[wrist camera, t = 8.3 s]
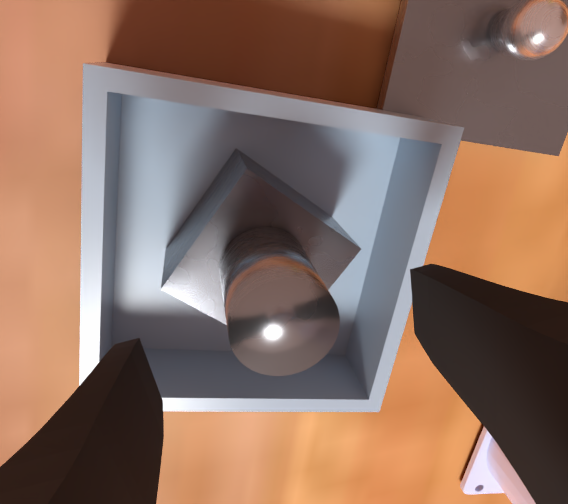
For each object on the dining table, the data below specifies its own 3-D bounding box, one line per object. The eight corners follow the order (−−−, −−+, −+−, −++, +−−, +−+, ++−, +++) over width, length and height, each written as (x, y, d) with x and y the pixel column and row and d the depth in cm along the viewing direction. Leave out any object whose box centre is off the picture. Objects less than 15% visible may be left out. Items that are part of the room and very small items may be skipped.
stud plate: (629, -69, 17) (716, -94, 14) (548, 153, 19) (606, 168, 17) (431, -131, 15) (486, -174, 12) (372, 125, 17) (406, 137, 15)
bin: (414, 115, 18) (464, 127, 14) (351, 360, 22) (379, 411, 18) (105, 62, 15) (83, 63, 12) (97, 352, 19) (79, 411, 16)
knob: (331, 216, 18) (409, 302, 12) (263, 304, 19) (300, 427, 13) (236, 147, 16) (266, 204, 10) (165, 248, 17) (152, 358, 11)
